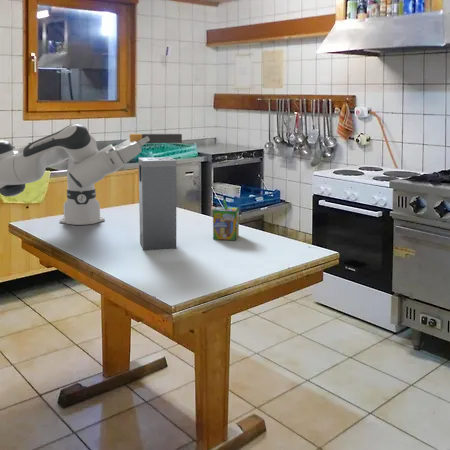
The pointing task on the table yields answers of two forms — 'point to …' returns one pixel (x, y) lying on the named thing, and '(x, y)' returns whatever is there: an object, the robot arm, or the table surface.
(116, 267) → the table surface
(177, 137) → the plug rod
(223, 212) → the chalk box
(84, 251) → the table surface
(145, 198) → the housing
